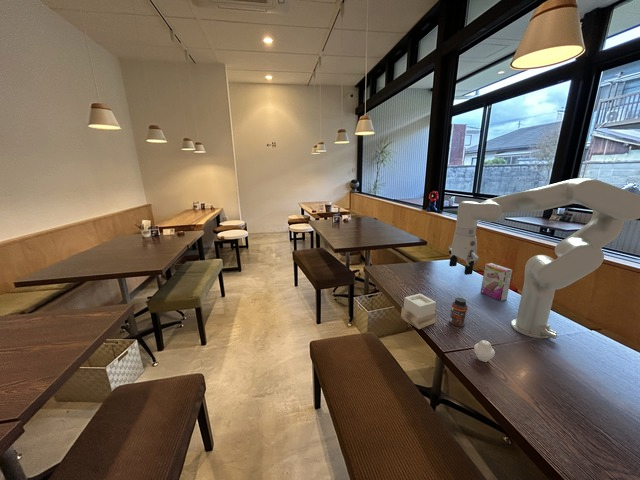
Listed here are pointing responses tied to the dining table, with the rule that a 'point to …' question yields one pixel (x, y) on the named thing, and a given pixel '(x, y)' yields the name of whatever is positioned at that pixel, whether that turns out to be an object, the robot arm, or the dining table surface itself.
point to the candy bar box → (496, 281)
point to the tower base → (417, 319)
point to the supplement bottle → (458, 312)
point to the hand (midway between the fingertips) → (460, 270)
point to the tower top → (419, 305)
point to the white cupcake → (484, 351)
